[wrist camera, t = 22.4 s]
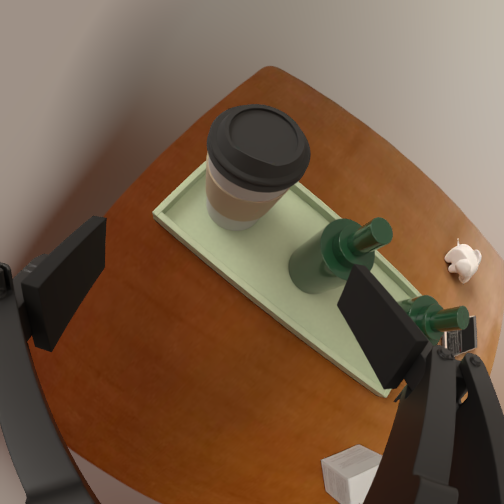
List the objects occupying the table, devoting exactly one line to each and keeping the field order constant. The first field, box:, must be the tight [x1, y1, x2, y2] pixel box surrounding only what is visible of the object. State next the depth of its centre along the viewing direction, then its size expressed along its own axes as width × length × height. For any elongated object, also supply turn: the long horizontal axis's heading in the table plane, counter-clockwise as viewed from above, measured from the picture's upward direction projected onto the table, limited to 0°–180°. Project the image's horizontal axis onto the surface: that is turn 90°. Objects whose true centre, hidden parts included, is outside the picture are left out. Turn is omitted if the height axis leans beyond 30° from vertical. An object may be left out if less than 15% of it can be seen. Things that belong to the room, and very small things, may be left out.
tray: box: [153, 161, 422, 398], centre depth 36 cm, size 38×16×2 cm, turn 53°
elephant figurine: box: [445, 239, 481, 283], centre depth 41 cm, size 7×8×6 cm
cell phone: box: [442, 316, 477, 356], centre depth 39 cm, size 6×11×1 cm, turn 92°
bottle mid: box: [288, 217, 393, 294], centre depth 29 cm, size 6×6×14 cm
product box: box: [321, 445, 382, 504], centre depth 27 cm, size 6×6×7 cm
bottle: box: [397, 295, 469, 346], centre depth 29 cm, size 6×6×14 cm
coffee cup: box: [206, 104, 310, 231], centre depth 29 cm, size 9×9×15 cm
